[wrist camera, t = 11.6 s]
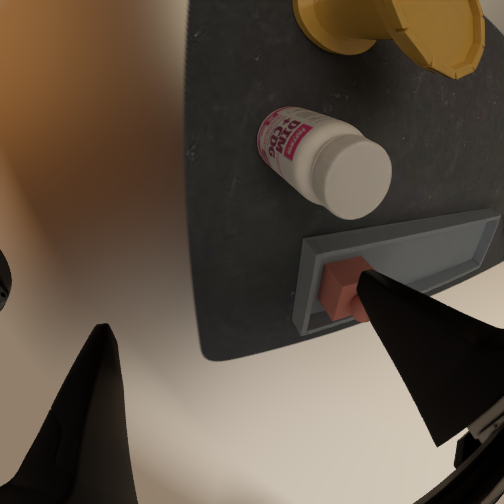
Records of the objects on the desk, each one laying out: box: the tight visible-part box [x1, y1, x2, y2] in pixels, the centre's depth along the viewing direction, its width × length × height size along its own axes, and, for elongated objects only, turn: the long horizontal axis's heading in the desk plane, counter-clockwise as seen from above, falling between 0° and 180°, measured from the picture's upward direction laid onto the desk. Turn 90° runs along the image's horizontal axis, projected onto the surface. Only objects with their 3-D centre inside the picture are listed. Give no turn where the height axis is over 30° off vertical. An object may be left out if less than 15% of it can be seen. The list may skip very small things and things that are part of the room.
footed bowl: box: [293, 0, 485, 79], centre depth 10 cm, size 8×8×10 cm
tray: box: [292, 208, 501, 336], centre depth 31 cm, size 35×10×2 cm, turn 90°
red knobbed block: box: [317, 256, 374, 322], centre depth 26 cm, size 4×4×6 cm
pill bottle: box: [257, 107, 392, 220], centre depth 15 cm, size 5×5×8 cm
